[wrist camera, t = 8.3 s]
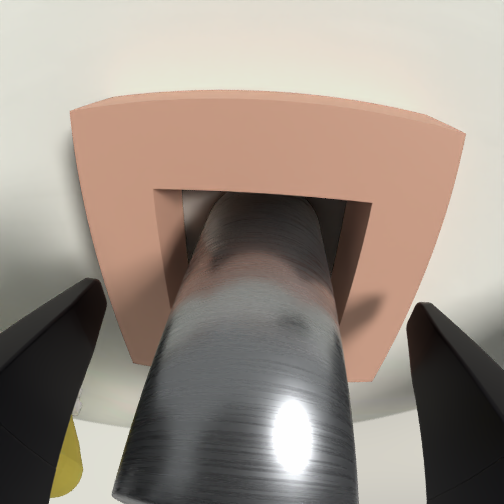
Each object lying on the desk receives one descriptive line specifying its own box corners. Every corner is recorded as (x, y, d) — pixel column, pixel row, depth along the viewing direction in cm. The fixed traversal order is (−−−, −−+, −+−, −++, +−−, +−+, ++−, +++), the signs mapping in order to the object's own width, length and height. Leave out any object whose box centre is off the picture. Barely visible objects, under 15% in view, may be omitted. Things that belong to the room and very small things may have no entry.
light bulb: (34, 377, 20) (-8, 469, 12) (33, 342, 17) (-26, 458, 9) (100, 414, 22) (68, 511, 14) (114, 389, 19) (73, 515, 10)
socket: (426, 114, 8) (465, 133, 6) (363, 337, 14) (372, 381, 12) (112, 97, 8) (69, 111, 6) (150, 321, 14) (133, 363, 12)
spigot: (327, 186, 10) (404, 501, 2) (311, 283, 12) (326, 531, 5) (204, 178, 10) (67, 468, 3) (208, 275, 12) (147, 515, 5)
